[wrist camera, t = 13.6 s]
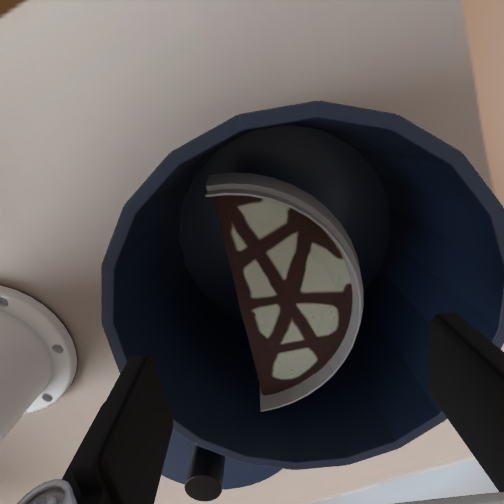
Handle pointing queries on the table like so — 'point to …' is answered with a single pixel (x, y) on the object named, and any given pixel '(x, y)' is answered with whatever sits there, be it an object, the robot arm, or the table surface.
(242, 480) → the pot lid
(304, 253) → the food container
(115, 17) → the table surface
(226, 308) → the pot
